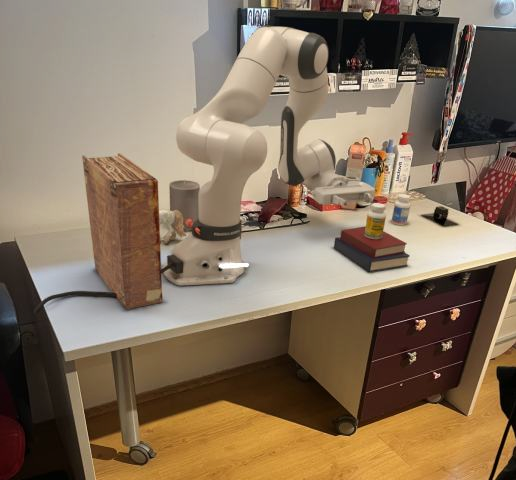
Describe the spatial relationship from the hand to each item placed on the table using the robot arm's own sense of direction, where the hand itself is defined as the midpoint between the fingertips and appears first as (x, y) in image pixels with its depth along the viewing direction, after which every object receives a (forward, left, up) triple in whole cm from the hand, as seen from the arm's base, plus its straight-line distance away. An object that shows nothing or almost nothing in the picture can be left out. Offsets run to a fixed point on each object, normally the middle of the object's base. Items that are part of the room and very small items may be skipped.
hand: (358, 201), depth 163 cm
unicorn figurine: (-59, +18, -14) cm, 63 cm away
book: (-73, -6, -14) cm, 75 cm away
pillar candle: (-45, +31, -14) cm, 56 cm away
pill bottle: (+29, +13, -14) cm, 35 cm away
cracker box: (+23, +36, -14) cm, 45 cm away
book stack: (0, -10, -14) cm, 17 cm away
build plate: (+46, +11, -14) cm, 49 cm away
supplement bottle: (0, -10, -8) cm, 13 cm away
